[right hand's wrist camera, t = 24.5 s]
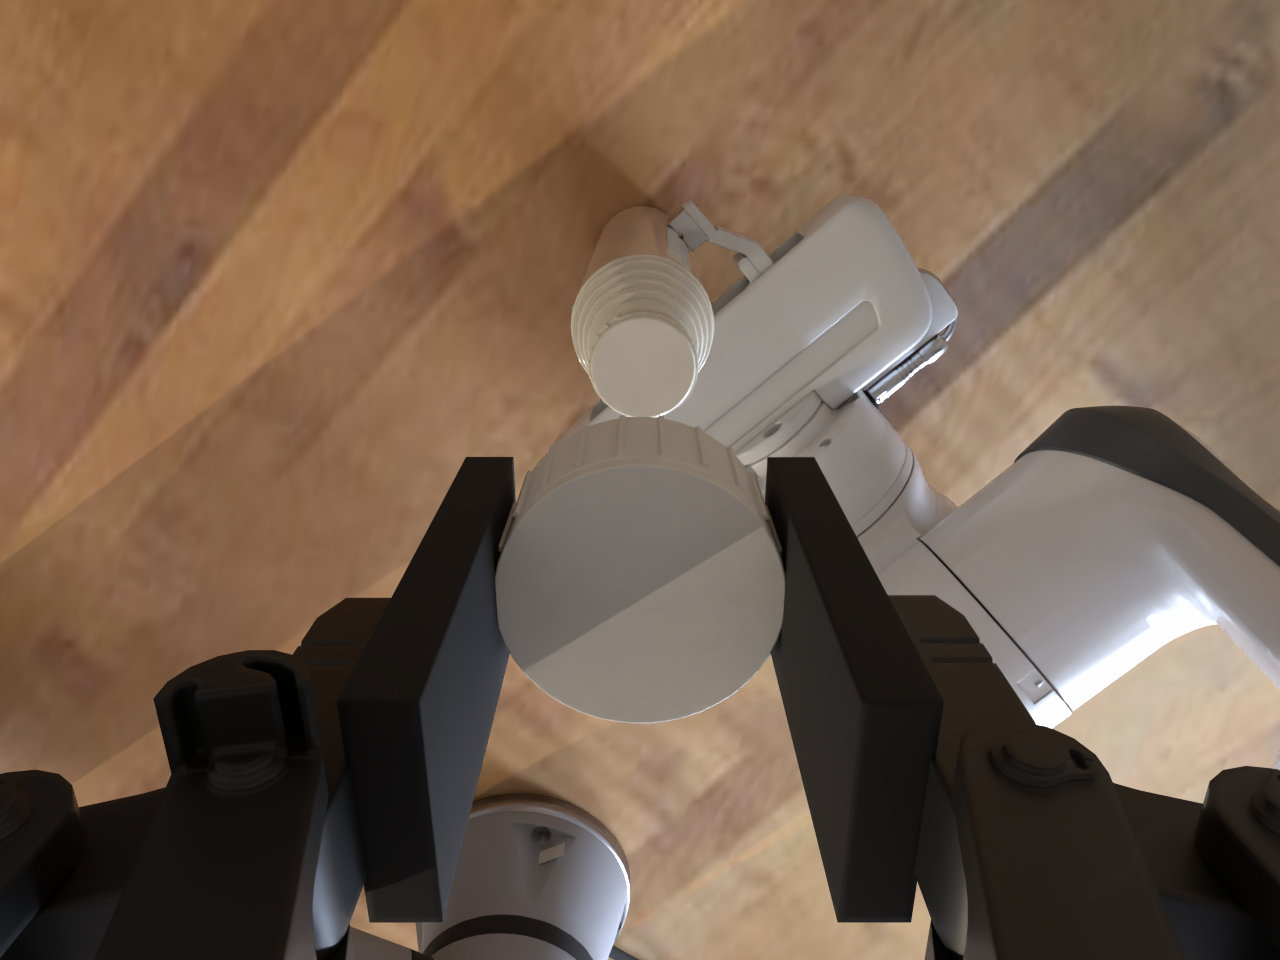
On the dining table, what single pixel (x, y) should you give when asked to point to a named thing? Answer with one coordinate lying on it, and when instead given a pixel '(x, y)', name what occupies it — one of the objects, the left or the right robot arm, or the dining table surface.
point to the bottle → (642, 316)
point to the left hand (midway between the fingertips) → (628, 255)
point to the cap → (640, 572)
